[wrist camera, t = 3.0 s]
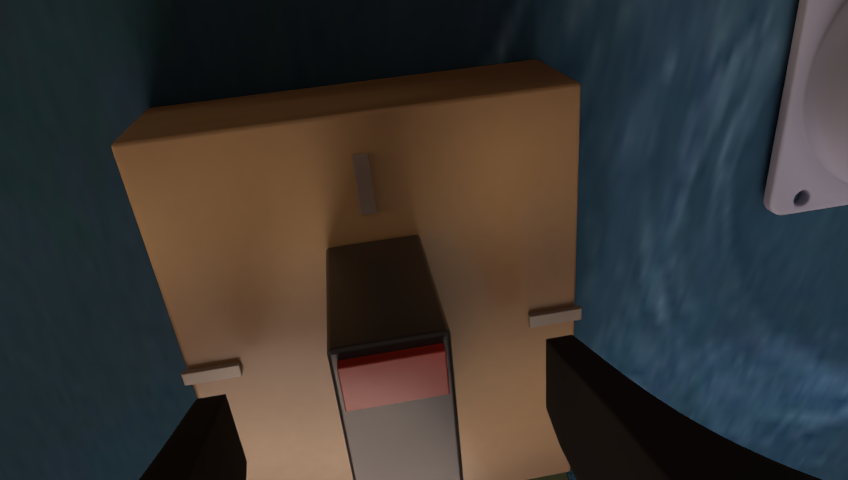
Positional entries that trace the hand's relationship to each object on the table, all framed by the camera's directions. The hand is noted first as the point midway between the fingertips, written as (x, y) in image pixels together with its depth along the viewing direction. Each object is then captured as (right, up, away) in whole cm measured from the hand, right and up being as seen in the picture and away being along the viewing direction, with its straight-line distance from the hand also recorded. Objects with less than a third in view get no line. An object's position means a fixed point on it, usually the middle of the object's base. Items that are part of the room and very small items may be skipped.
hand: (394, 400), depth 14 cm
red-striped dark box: (0, +1, +2) cm, 2 cm away
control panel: (-1, +2, +5) cm, 5 cm away
